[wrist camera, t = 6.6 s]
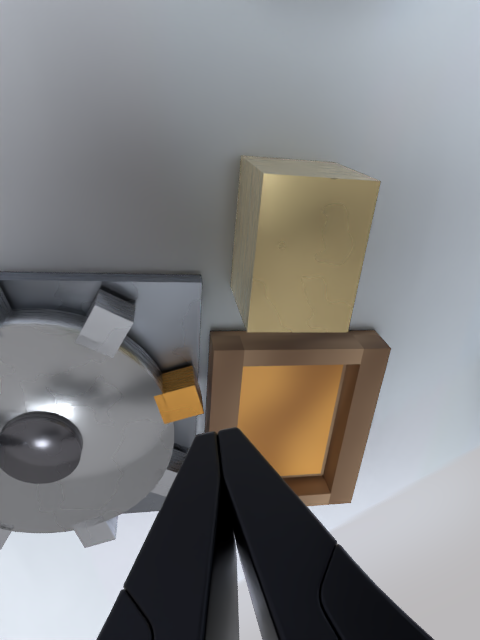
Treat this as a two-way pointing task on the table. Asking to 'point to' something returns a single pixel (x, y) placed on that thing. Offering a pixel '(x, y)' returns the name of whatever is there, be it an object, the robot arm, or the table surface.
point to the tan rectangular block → (299, 243)
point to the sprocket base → (147, 330)
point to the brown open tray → (299, 402)
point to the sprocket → (83, 420)
